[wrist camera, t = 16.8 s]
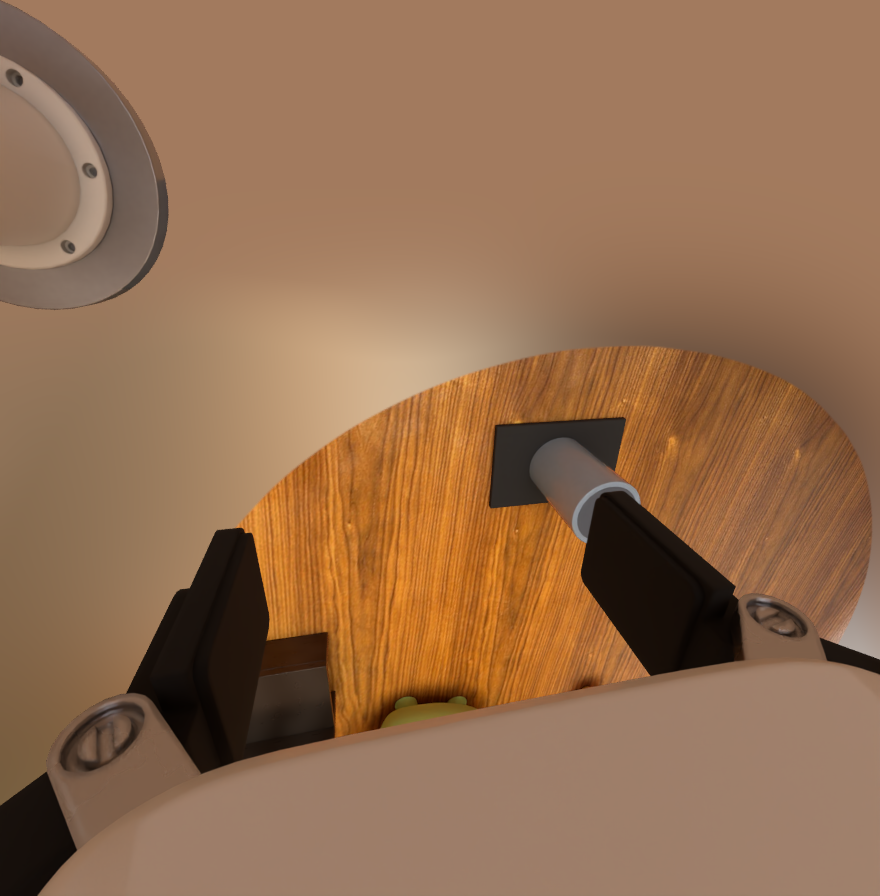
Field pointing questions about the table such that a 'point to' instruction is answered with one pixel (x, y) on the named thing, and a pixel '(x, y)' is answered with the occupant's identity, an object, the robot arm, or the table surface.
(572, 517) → the blue cup
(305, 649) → the shelf
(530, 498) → the mat
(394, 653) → the table surface
